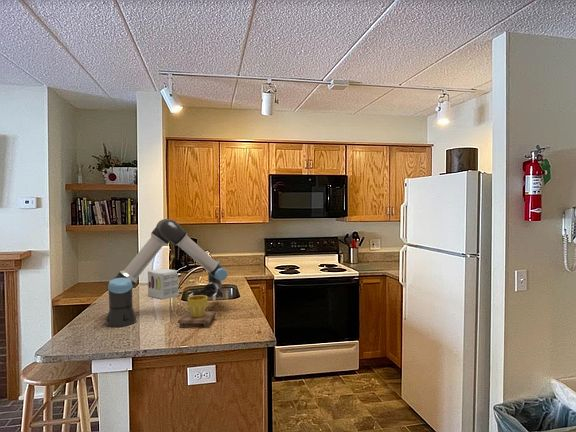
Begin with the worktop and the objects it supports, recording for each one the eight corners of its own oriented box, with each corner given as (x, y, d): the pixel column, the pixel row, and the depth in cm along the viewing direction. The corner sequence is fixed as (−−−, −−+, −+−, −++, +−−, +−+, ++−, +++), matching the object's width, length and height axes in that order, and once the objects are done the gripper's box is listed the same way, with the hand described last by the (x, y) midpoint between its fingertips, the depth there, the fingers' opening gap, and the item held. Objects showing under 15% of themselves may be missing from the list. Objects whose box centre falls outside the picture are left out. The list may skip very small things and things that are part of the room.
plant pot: (203, 318, 198) (202, 300, 198) (184, 318, 200) (184, 299, 200) (210, 313, 208) (210, 295, 208) (193, 312, 210) (192, 294, 210)
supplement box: (147, 296, 266) (146, 270, 265) (163, 292, 277) (162, 268, 276) (163, 299, 256) (162, 273, 255) (179, 295, 267) (178, 270, 266)
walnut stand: (178, 327, 196) (177, 320, 196) (187, 318, 212) (187, 311, 212) (208, 327, 196) (208, 320, 196) (215, 318, 212) (215, 311, 212)
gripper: (231, 295, 232) (223, 304, 211) (190, 295, 233) (179, 304, 212) (230, 283, 231) (223, 291, 210) (190, 283, 233) (178, 291, 211)
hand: (201, 298), depth 211 cm, fingers open, 13 cm apart
